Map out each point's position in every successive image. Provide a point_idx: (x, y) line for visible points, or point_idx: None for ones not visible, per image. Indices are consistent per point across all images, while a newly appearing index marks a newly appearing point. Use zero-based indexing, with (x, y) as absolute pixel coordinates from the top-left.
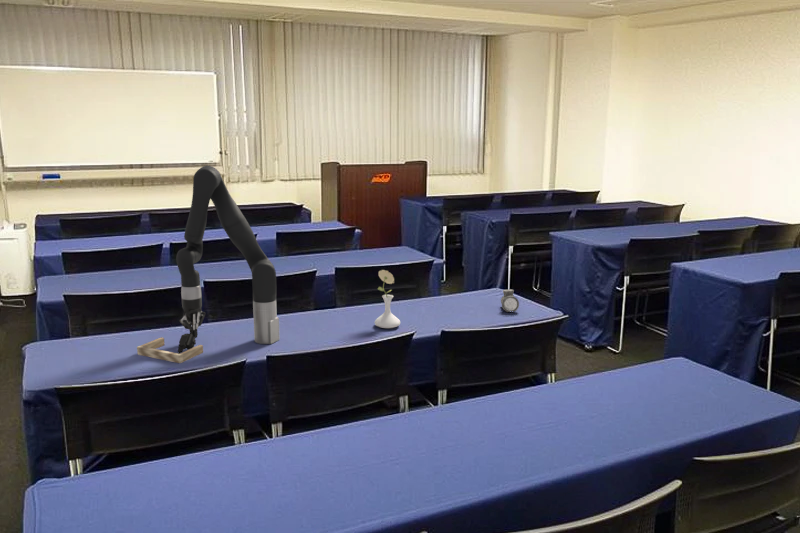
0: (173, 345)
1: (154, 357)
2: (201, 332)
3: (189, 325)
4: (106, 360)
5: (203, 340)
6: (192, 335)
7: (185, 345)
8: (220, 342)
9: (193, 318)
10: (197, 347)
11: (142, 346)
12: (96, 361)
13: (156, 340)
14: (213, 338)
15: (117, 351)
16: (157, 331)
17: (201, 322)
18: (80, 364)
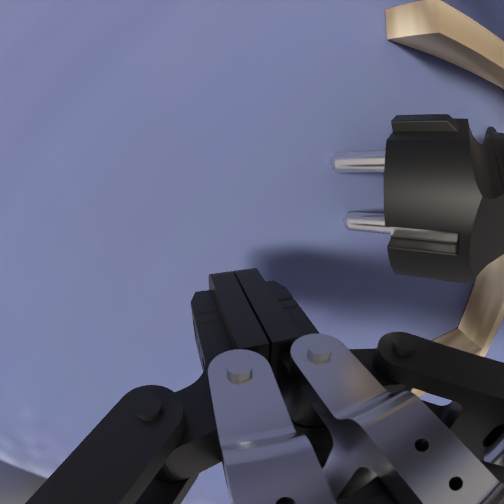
0: (338, 336)
1: None
2: (23, 395)
3: (460, 375)
4: (490, 349)
5: (113, 245)
6: (473, 172)
7: (495, 141)
8: (65, 33)
9: (487, 494)
10: (477, 26)
11: (482, 349)
12: (491, 357)
13: (416, 390)
14: (13, 207)
15: (431, 402)
16: (195, 500)
17: (105, 443)
18: (499, 360)
